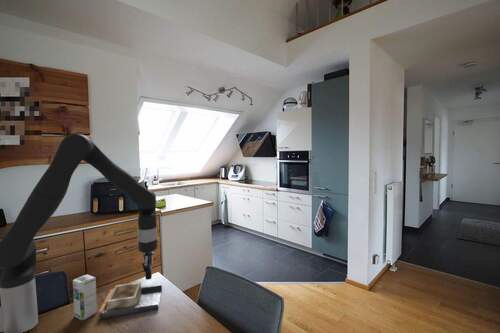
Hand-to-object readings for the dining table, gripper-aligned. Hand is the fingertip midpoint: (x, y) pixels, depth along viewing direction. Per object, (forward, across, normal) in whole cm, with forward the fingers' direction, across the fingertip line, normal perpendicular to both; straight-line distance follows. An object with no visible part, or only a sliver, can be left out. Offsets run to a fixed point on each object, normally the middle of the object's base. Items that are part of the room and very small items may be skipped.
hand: (148, 278), depth 104 cm
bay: (+10, 0, -7) cm, 12 cm away
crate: (+10, 0, -9) cm, 13 cm away
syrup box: (+10, +3, -23) cm, 25 cm away
